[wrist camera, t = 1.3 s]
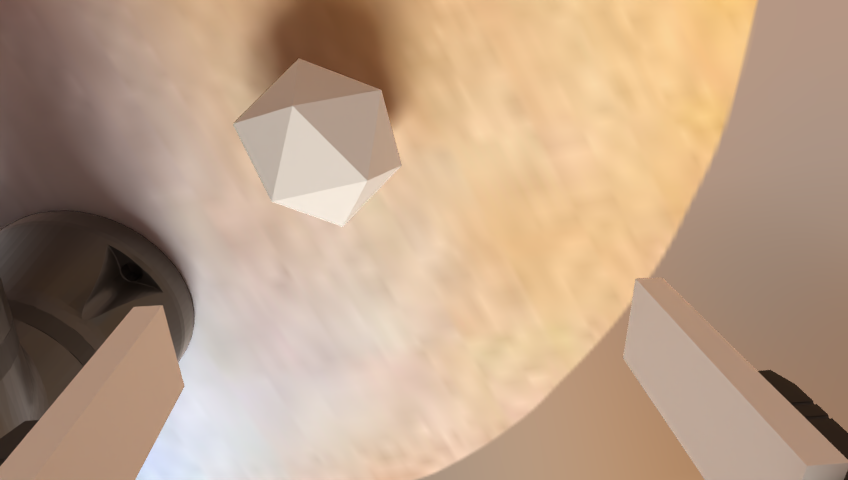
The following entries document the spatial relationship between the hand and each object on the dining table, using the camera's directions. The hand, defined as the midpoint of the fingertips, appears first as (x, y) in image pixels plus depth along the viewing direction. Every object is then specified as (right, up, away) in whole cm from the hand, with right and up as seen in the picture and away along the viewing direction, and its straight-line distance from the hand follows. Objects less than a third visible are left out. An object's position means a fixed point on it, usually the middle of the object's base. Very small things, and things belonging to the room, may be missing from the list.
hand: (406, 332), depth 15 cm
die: (-6, +10, +20) cm, 23 cm away
